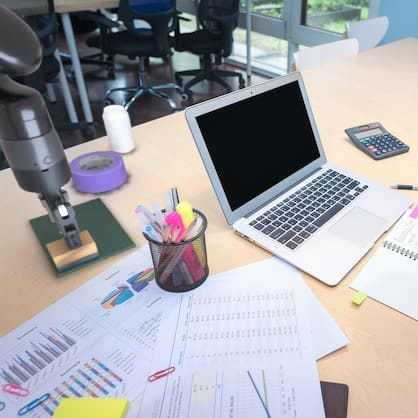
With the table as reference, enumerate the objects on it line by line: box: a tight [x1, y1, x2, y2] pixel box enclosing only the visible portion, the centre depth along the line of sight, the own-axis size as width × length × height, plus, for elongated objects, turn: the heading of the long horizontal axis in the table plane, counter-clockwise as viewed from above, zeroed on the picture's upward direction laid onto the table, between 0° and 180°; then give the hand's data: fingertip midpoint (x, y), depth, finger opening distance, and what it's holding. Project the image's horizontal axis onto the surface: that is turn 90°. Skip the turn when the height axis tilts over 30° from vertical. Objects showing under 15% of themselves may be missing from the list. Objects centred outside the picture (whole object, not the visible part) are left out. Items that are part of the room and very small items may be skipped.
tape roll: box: [68, 150, 128, 194], centre depth 94 cm, size 12×12×5 cm
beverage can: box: [102, 104, 136, 154], centre depth 105 cm, size 6×6×12 cm
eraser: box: [46, 230, 99, 272], centre depth 73 cm, size 7×4×4 cm, turn 132°
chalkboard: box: [28, 197, 137, 279], centre depth 80 cm, size 14×20×1 cm
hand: (68, 234), depth 71 cm, fingers open, 8 cm apart
